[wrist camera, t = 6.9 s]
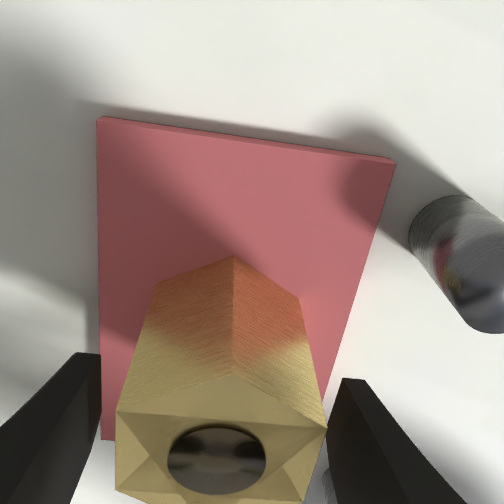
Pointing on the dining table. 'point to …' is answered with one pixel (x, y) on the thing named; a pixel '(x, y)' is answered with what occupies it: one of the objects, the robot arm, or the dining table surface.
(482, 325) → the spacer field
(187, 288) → the brass nut
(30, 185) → the dining table surface
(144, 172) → the red mat
